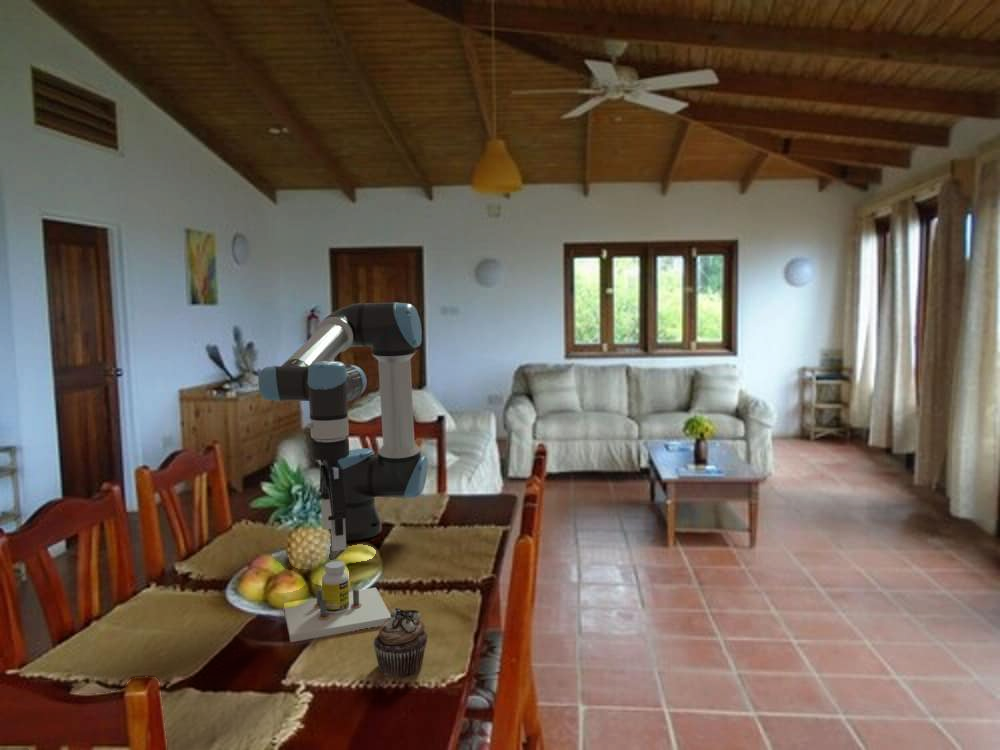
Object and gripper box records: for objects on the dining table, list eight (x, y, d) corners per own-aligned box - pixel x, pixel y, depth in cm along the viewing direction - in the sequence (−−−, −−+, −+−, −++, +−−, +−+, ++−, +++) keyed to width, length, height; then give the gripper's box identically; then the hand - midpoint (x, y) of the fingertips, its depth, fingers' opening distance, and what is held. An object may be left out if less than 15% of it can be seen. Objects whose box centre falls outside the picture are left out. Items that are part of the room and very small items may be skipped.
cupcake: (379, 652, 135) (378, 601, 134) (430, 653, 135) (429, 602, 133) (368, 680, 125) (367, 625, 124) (423, 680, 125) (422, 625, 124)
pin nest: (283, 608, 154) (282, 586, 153) (376, 593, 161) (375, 572, 161) (290, 642, 139) (289, 617, 139) (392, 624, 146) (391, 600, 146)
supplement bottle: (343, 616, 147) (341, 570, 146) (318, 614, 148) (316, 568, 147) (353, 604, 152) (351, 560, 151) (329, 602, 153) (327, 558, 152)
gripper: (303, 428, 156) (308, 522, 159) (319, 452, 133) (323, 562, 136) (338, 425, 159) (342, 518, 161) (359, 449, 136) (363, 556, 138)
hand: (333, 538), depth 148 cm, fingers open, 13 cm apart
